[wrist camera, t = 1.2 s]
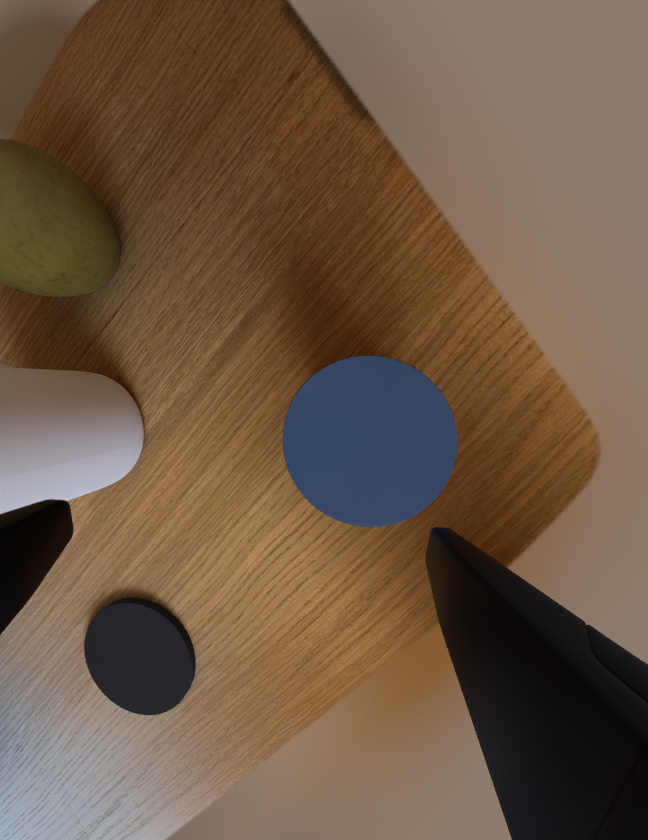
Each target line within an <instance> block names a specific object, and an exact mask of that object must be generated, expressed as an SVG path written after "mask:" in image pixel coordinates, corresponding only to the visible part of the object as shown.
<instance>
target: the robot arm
mask: <svg viewBox="0 0 648 840" xmlns="http://www.w3.org/2000/svg"><path fill="white" fill-rule="evenodd" d="M72 535H73V522H72V516H71V510H70V505H69V503H68V502H67V501H65V500H56V499H47V500H43V501H40V502H37V503H33V504H30V505H27V506H24V507H21V508H18V509H14V510H11V511H8V512H5V513H2V514H0V635H1V633H2V632H3V631H4V630H5V629H6V627H7V626H8V625H9V624H10V622H11V621H12V620H13V619H14V618H15V616H16V615H17V614H18V613H19V612H20V610H21V609H22V608H23V607H24V605H25V604H26V603H27V601H28V600H29V599H30V598H31V596H32V595H33V594H34V592H35V591H36V589H37V588H38V587H39V585H40V584H41V582H42V581H43V579H44V578H45V576H46V575H47V573H48V572H49V571H50V569H51V568H52V566H53V565H54V563H55V562H56V560H57V559H58V557H59V556H60V554H61V553H62V552H63V550H64V549H65V547H66V546H67V544H68V543H69V541H70V540H71V538H72ZM426 566H427V570H428V575H429V579H430V584H431V588H432V593H433V597H434V602H435V606H436V611H437V615H438V619H439V623H440V626H441V630H442V633H443V636H444V639H445V642H446V645H447V648H448V651H449V654H450V657H451V660H452V663H453V666H454V669H455V672H456V675H457V677H458V681H459V684H460V687H461V690H462V693H463V696H464V698H465V701H466V704H467V707H468V710H469V713H470V716H471V719H472V722H473V725H474V728H475V731H476V734H477V737H478V740H479V743H480V746H481V749H482V752H483V755H484V758H485V761H486V764H487V767H488V770H489V773H490V775H491V779H492V782H493V784H494V788H495V791H496V793H497V797H498V800H499V803H500V805H501V809H502V811H503V814H504V817H505V820H506V823H507V826H508V829H509V832H510V835H511V838H512V840H648V664H646V663H645V662H643V661H641V660H640V659H639V658H637V657H635V656H634V655H632V654H631V653H630V652H628V651H626V650H625V649H624V648H622V647H621V646H619V645H617V644H616V643H615V642H613V641H612V640H610V639H609V638H607V637H606V636H604V635H603V634H602V633H600V632H599V631H597V630H596V629H595V628H593V627H592V626H590V625H586V623H585V622H584V621H583V620H581V619H580V618H579V617H577V616H576V615H574V614H573V613H571V612H570V611H568V610H567V609H566V608H564V607H563V606H561V605H559V604H558V603H557V602H555V601H554V600H552V599H551V598H550V597H548V596H547V595H545V594H544V593H542V592H541V591H540V590H538V589H536V588H535V587H534V586H532V585H531V584H529V583H528V582H526V581H525V580H523V579H522V578H521V577H519V576H518V575H516V574H515V573H513V572H512V571H511V570H509V569H508V568H506V567H505V566H503V565H502V564H500V563H499V562H498V561H496V560H495V559H493V558H492V557H490V556H489V555H487V554H486V553H485V552H483V551H482V550H480V549H479V548H477V547H476V546H474V545H473V544H472V543H470V542H469V541H467V540H466V539H464V538H463V537H461V536H460V535H459V534H457V533H456V532H454V531H453V530H451V529H450V528H443V527H434V528H433V529H432V530H431V533H430V537H429V542H428V546H427V551H426Z"/></svg>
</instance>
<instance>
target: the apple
mask: <svg viewBox="0 0 648 840" xmlns="http://www.w3.org/2000/svg"><path fill="white" fill-rule="evenodd" d="M120 254H121V250H120V242H119V238H118V234H117V231H116V228H115V226H114V224H113V221H112V220H111V218H110V216H109V214H108V212H107V211H106V209H105V207H104V206H103V204H102V203H101V202H100V200H99V199H98V198H97V196H96V195H95V194H94V192H93V191H92V190H91V189H90V188H89V187H88V186H87V184H86V183H85V182H84V181H82V180H81V179H80V178H79V177H78V176H77V175H76V174H75V173H74V172H73V171H71V170H70V169H69V168H67V167H66V166H65V165H64V164H62V163H61V162H59V161H58V160H56V159H55V158H53V157H52V156H50V155H48V154H46V153H45V152H43V151H41V150H39V149H37V148H35V147H32V146H29V145H27V144H24V143H21V142H18V141H13V140H6V139H0V283H1V284H3V285H6V286H8V287H11V288H14V289H17V290H20V291H24V292H27V293H31V294H36V295H43V296H53V297H71V296H80V295H85V294H88V293H91V292H94V291H97V290H98V289H100V288H101V287H103V286H104V285H105V284H106V283H107V282H108V281H109V280H110V279H111V278H112V276H113V275H114V273H115V272H116V270H117V267H118V265H119V261H120Z"/></svg>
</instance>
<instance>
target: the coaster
mask: <svg viewBox="0 0 648 840" xmlns="http://www.w3.org/2000/svg"><path fill="white" fill-rule="evenodd" d="M84 649H85V658H86V663H87V666H88V669H89V671H90V674H91V676H92V678H93V680H94V682H95V683H96V684H97V686H98V687H99V689H100V690H101V691H102V692H103V693H104V694H105V695H106V696H107V697H108V698H109V699H110V700H111V701H112V702H114V703H115V704H116V705H118V706H120V707H121V708H123V709H125V710H128V711H130V712H133V713H137V714H142V715H156V714H161V713H164V712H166V711H169V710H170V709H172V708H174V707H175V706H176V705H177V704H179V702H180V701H181V700H182V699H183V698H184V696H185V695H186V693H187V692H188V690H189V688H190V687H191V684H192V682H193V678H194V675H195V654H194V649H193V646H192V643H191V640H190V638H189V636H188V634H187V632H186V630H185V629H184V628H183V626H182V625H181V623H180V622H179V621H178V620H177V619H176V618H175V617H174V616H173V615H172V614H171V613H170V612H169V611H167V610H166V609H165V608H163V607H161V606H160V605H158V604H156V603H153V602H151V601H148V600H144V599H139V598H127V599H121V600H118V601H115V602H113V603H111V604H109V605H108V606H106V607H105V608H104V609H102V610H101V611H100V612H99V613H98V614H97V615H96V616H95V617H94V619H93V620H92V621H91V623H90V625H89V627H88V630H87V632H86V637H85V645H84Z"/></svg>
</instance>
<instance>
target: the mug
mask: <svg viewBox="0 0 648 840" xmlns="http://www.w3.org/2000/svg"><path fill="white" fill-rule="evenodd" d="M143 441H144V427H143V421H142V417H141V414H140V411H139V409H138V406H137V405H136V403H135V401H134V399H133V398H132V396H131V395H130V394H129V393H128V392H127V390H126V389H125V388H123V387H122V386H121V385H120V384H119V383H117V382H115V381H114V380H112V379H110V378H108V377H106V376H103V375H100V374H96V373H91V372H84V371H68V370H48V369H27V368H14V367H12V366H10V365H8V364H6V363H3V362H1V361H0V514H2V513H5V512H8V511H11V510H14V509H18V508H21V507H24V506H27V505H30V504H33V503H37V502H40V501H43V500H47V499H56V500H65V501H68V500H71V499H74V498H77V497H80V496H82V495H85V494H88V493H91V492H93V491H96V490H99V489H101V488H104V487H106V486H109V485H111V484H113V483H115V482H117V481H118V480H120V479H122V478H123V477H124V476H126V475H127V474H128V473H129V472H130V471H131V470H132V468H133V467H134V465H135V464H136V462H137V461H138V459H139V457H140V454H141V451H142V447H143Z"/></svg>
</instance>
